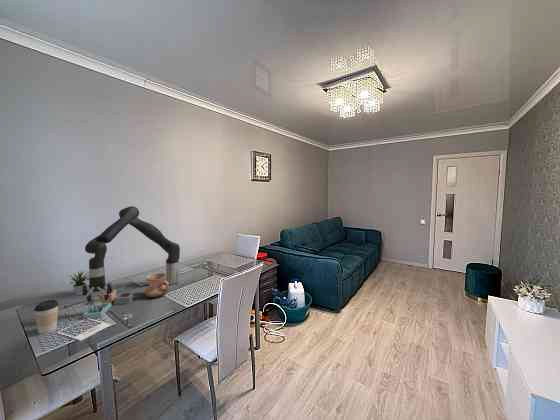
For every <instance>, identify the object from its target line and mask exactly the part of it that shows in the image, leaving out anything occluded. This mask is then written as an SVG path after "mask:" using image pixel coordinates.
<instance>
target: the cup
mask: <svg viewBox="0 0 560 420" xmlns="http://www.w3.org/2000/svg"><path fill="white" fill-rule="evenodd" d="M100 294H102V303H112V302H114V298H115V297H116V296H117V290H116V289H112V293H111V294H109V298H108V299H107V300H106V301H105V297H104V293H102V292H101V293H100Z"/></svg>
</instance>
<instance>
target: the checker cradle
mask: <svg viewBox="0 0 560 420" xmlns="http://www.w3.org/2000/svg"><path fill="white" fill-rule="evenodd" d="M135 295H136V293H135V291H127V292H126V291H125V292H119V293H118V294H116V297H115V298H114V300H113V305H114V306H116V305H117V306H119V305H126V304H127V305H129V304H131V303H132V302H133V300H134V299H135V298H136V296H135Z"/></svg>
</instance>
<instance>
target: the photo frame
mask: <svg viewBox="0 0 560 420" xmlns="http://www.w3.org/2000/svg"><path fill="white" fill-rule="evenodd" d="M84 320H85V321H87V320H88V321H90V320H91V322H94V321H95V322H94V323H98V325H95V326H93V327H91V328H89V329H88V330H86V331H84V332H82V333H80V334H78V335H76V336H73V335H70V334H66V333H64V330H67V329H69V328H71V326H72V327H74V326H76V325H78V324H80V323H82V322H84ZM87 320H86V319H82V320H81V321H78V322H77V323H74V324H72V325H70V326H67V327H66V328H63V329H60V330H58V331H57V332H56V334H57V333H58V334H57V335H60V334H61V336H63V335H65V336H64V337H66V336H68V337H67V338H70V337H72V338H71V339H73V338H74V339H73V340H76V339H77V341H79V342H81V341H84V340H85V339H87V338H89V337H90V336H93V335H95V334H96V333H99V332H100V331H102V330H104V329H107V327H110V326H111V323H107V322H104V321H100V320H97V319H94V318H87ZM75 324H76V325H75ZM73 325H74V326H73Z"/></svg>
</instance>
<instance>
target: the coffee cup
mask: <svg viewBox="0 0 560 420" xmlns="http://www.w3.org/2000/svg"><path fill="white" fill-rule="evenodd" d="M59 305H60V304H59V302H58V301H56V299H52V300H50V299H49V300H45V301H42V302H39V303H38V304H37V305H36V306H35V307H34V308H33V312H34V317H35V324H36V328H37V333H38V334H39V335H44V334H49V333H52V332H54V331H55V330H57V326H58V317H59V315H58V314H59Z"/></svg>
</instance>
